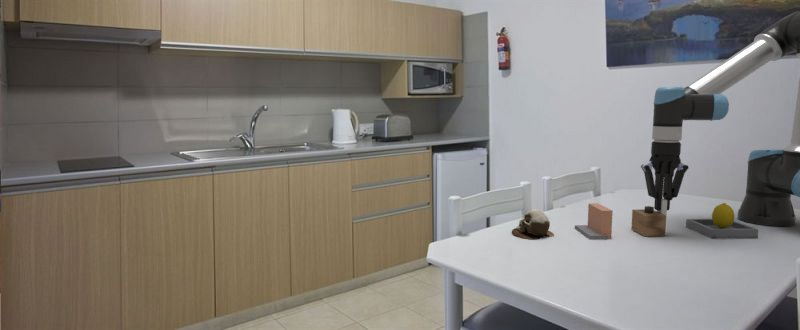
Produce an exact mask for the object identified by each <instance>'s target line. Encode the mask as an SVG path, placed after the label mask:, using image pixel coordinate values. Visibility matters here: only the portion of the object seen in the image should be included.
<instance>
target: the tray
mask: <svg viewBox="0 0 800 330" xmlns="http://www.w3.org/2000/svg"><path fill="white" fill-rule="evenodd" d="M685 221H686V222H685V227H686V228H687V229H690V230H691V231H694V232H697V233H699V234H700V235H703V236H705V237H706V238H707V237H708V238H710V239H713V240H715V239H716V240H717V239H758V238H759V229H758V228H755V227H753V226H751V225H747V224H746V223H745V224H744V223H741V222H739V221H736V220H734V222H733V224H732V225H731V226H729V227H727V228H725V229H720V228H719V227H718V226H716V225H715V224H714V222H713V220H712V218H686V219H685Z"/></svg>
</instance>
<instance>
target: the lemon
mask: <svg viewBox="0 0 800 330" xmlns="http://www.w3.org/2000/svg"><path fill="white" fill-rule="evenodd" d="M711 219H712V220H713V222H714V224H715V225H716V226H718V227H719V228H720V229H725V228H727V227H729V226H731V225H732V224H733V222H734V221H735V212H734V209H733V208H732V207H731V206H730V205H728V204H727V203H726V202H722V203H719V204H718V205H717V206H715V207H714V208H713V210H712V213H711Z"/></svg>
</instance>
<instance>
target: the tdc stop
mask: <svg viewBox="0 0 800 330" xmlns="http://www.w3.org/2000/svg"><path fill="white" fill-rule="evenodd" d="M587 207H588V209H587V210H588V211H587V224H584V225H583V224H582V225H579V224H578V225H577V224H575V225H574V229H575V230H577V232H579V233H580V234H581V235H583V236H584V237H586V238H588V240H608V239H612V229H613V228H612V227H613V210H612V209H610V208H609V207H606V206H604V205H603V204H600V203H598V202H597V203H595V202H594V203H588V206H587Z"/></svg>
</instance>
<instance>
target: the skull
mask: <svg viewBox="0 0 800 330" xmlns="http://www.w3.org/2000/svg"><path fill="white" fill-rule="evenodd" d="M550 224H551V223H550V219H549V218H548V216H547V215H546V214H545V213H544V212H543V211H542V210H540V209H538V208H537V209H535V208H533V209H530V210H528V211H526V212H525V214H524V216H523V217H522V219H520V220H519V224H518V225H517V226H516V227H515V228H513V229H512V230H511V232H512V234H513V235H514V236H516V237H519V238H522V239H527V240H534V241H536V240H540V239H544V238H549V237H550V238H552V237H553V238H554V237H555V234H554V232H553V231H550Z"/></svg>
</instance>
